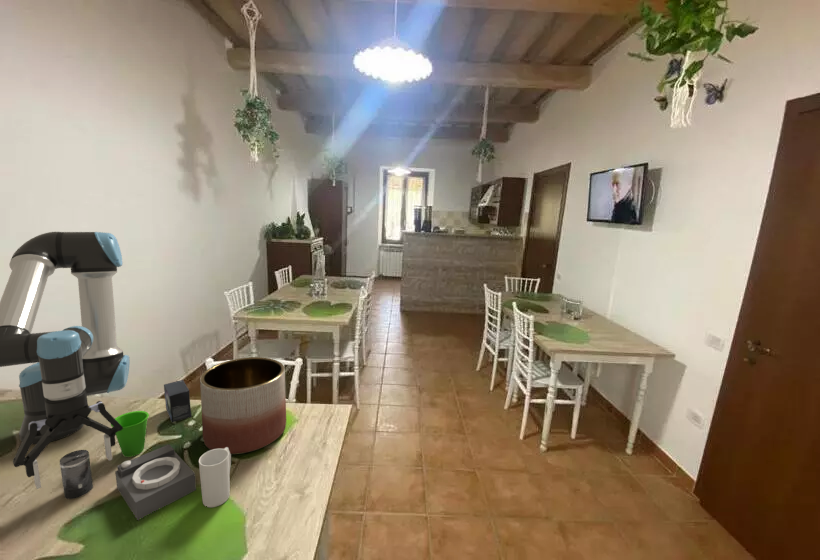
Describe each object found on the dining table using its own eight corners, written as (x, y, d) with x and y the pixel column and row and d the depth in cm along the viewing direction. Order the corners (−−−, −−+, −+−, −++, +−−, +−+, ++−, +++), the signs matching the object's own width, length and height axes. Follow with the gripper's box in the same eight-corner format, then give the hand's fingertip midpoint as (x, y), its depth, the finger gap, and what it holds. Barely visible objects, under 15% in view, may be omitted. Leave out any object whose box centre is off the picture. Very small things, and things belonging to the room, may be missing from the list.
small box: (164, 410, 133) (162, 383, 131) (185, 404, 137) (183, 379, 135) (170, 423, 125) (168, 395, 123) (192, 416, 129) (190, 389, 128)
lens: (61, 491, 94) (57, 457, 92) (90, 480, 98) (85, 446, 96) (66, 503, 90) (61, 467, 89) (95, 490, 95) (91, 456, 93)
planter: (286, 408, 137) (285, 354, 134) (286, 450, 114) (285, 385, 110) (211, 417, 129) (208, 359, 125) (194, 464, 106) (189, 395, 102)
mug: (220, 510, 90) (218, 467, 88) (195, 507, 91) (192, 464, 89) (242, 481, 100) (241, 442, 98) (219, 478, 101) (217, 439, 99)
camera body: (117, 488, 96) (114, 463, 94) (172, 463, 106) (170, 440, 105) (137, 520, 86) (134, 494, 85) (196, 489, 96) (194, 465, 95)
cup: (132, 464, 105) (128, 429, 103) (106, 458, 107) (102, 424, 105) (159, 445, 114) (156, 413, 112) (135, 440, 115) (131, 408, 113)
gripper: (-10, 420, 77) (5, 507, 81) (131, 381, 97) (138, 453, 100) (-13, 408, 82) (1, 491, 85) (123, 373, 101) (130, 442, 105)
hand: (75, 471), depth 93 cm, fingers open, 13 cm apart
